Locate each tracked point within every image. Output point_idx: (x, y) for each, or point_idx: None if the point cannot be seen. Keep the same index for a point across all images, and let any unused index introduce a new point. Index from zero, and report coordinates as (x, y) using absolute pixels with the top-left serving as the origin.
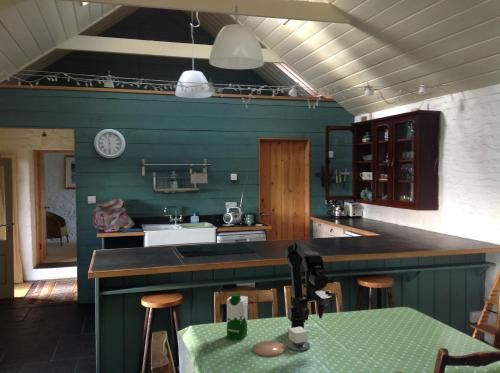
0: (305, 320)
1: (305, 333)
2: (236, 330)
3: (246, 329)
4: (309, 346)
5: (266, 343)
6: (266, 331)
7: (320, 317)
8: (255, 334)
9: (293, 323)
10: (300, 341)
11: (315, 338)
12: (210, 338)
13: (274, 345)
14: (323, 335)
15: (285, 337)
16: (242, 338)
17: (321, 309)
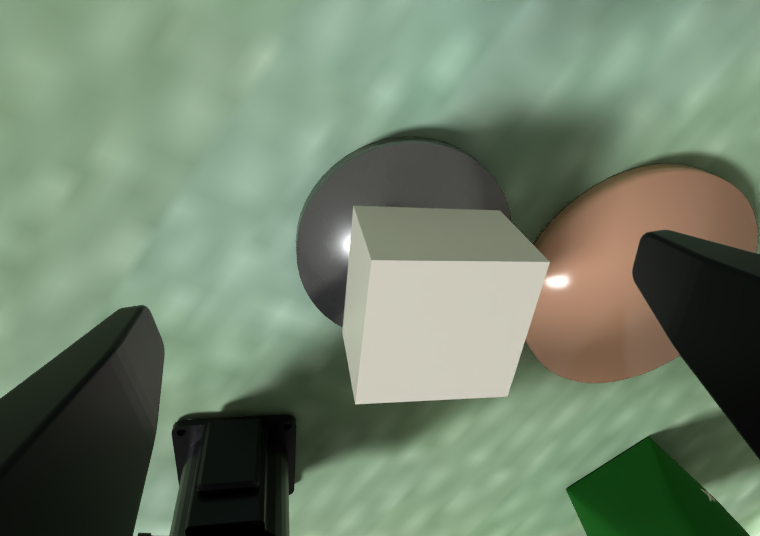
0: (675, 245)
1: (406, 248)
2: (718, 503)
3: (621, 514)
4: (337, 170)
5: (606, 346)
6: (429, 507)
7: (145, 325)
8: (516, 488)
9: (287, 519)
10: (447, 214)
11: None
12: (729, 496)
13: (589, 299)
14: (29, 351)
15: (379, 409)
16: (647, 451)
17: (17, 529)
